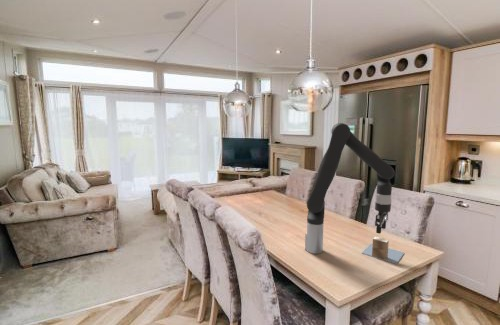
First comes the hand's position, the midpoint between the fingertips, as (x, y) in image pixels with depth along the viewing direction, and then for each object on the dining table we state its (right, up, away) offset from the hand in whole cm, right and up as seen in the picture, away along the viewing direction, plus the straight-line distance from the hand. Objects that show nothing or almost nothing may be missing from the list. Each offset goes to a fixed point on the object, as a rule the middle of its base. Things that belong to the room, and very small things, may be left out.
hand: (380, 230), depth 144 cm
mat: (+4, -14, +6) cm, 16 cm away
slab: (0, -15, +2) cm, 15 cm away
